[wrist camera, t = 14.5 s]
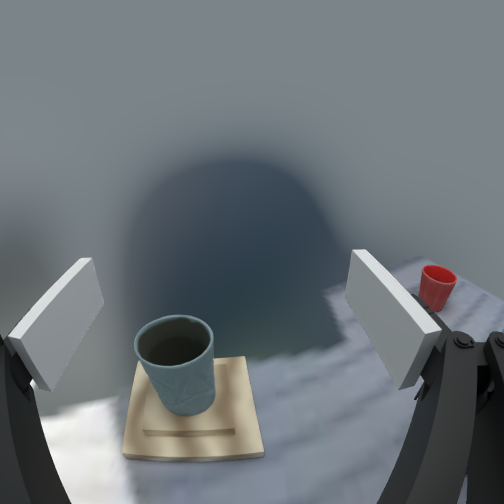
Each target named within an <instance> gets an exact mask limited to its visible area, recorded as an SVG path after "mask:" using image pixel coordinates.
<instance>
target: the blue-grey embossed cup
mask: <svg viewBox="0 0 504 504" xmlns="http://www.w3.org/2000/svg"><path fill="white" fill-rule="evenodd" d="M134 350H135V353H136V355H137V357H138V359H139V361H140V363H141V364H142V366H143V368H144V370H145V372H146V374H148V376H149V379H150V382H151V383H152V385H153V387H154V388H155V390H156V392H158V396H159V398H160V400H161V401H162V403H163V405H164V406H165V407H166V408H167V409H168V410H169V411H171V412H172V413H174V414H177V415H181V416H193V415H197V414H200V413H202V412H205V411H206V410H207V409H208V408H209V407H210V406H211V405H212V404H213V401H214V399H215V394H216V391H215V377H214V360H213V359H214V356H213V333H212V330H211V328H210V327H209V326H208V325H207V324H206V323H205V322H203V321H202V320H200V319H198V318H195V317H192V316H186V315H172V316H166V317H162V318H160V319H157V320H154V321H152V322H150V323H148V324H147V325H145V326H144V327H143V328H142V329H141V330H140V331H139V332H138V334H137V335H136V338H135V341H134Z"/></svg>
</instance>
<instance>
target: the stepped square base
mask: <svg viewBox="0 0 504 504" xmlns="http://www.w3.org/2000/svg"><path fill="white" fill-rule="evenodd" d="M213 360H214V377H215V391H216V394H215V399H214V401H213V404H212V405H211V406H210V407H209V408H208V409H207V410H206V411H205V412H202V413H200V414H197V415H193V416H181V415H177V414H174V413H172V412H171V411H169V410H168V409H167V408H166V407H165V406H164V405H163V403H162V401H161V400H160V398H159V396H158V392H156V390H155V388H154V387H153V385H152V383H151V382H150V379H149V376H148V374H146V372H145V370H144V368H143V366H142V364H141V363H140V361H138V365H137V369H136V373H135V378H134V383H133V388H132V393H131V398H130V403H129V408H128V414H127V420H126V426H125V432H124V439H123V446H122V454H123V455H124V456H125V457H126V458H128V459H137V460H149V461H166V462H210V461H228V460H239V459H249V458H257V457H264V449H263V445H262V440H261V435H260V430H259V426H258V421H257V416H256V411H255V406H254V401H253V396H252V391H251V386H250V381H249V376H248V371H247V366H246V360H245V356H242V357H231V358H217V359H213Z"/></svg>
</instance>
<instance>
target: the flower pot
mask: <svg viewBox="0 0 504 504" xmlns="http://www.w3.org/2000/svg"><path fill="white" fill-rule="evenodd" d="M456 281H457V278H456V276H455V274H454V273H453V272H451V271H450V270H448V269H446V268H444V267H441V266H437V265H426V266H424V267H423V269H422V276H421V283H420V291H419V298H421V299H422V300H423V301H424V302H425V303H426V304H427V305H428V306H429V308H431V309H432V310H433V311H434V312H438V311H440V310H441V309H442V308H443V306H444V304H445V303H446V301H447V299H448V297H449V295H450V293H451V292H452V290H453V288H454V286H455V284H456Z"/></svg>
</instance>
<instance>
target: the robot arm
mask: <svg viewBox="0 0 504 504" xmlns="http://www.w3.org/2000/svg"><path fill="white" fill-rule="evenodd" d="M345 299H346V301H347V302H348V304H349V305H350V307H351V309H352V310H353V312H354V314H355V315H356V317H357V319H358V320H359V322H360V323H361V325H362V327H363V329H364V330H365V332H366V334H367V335H368V337H369V339H370V340H371V342H372V344H373V346H374V347H375V349H376V351H377V352H378V354H379V356H380V358H381V360H382V361H383V363H384V365H385V367H386V368H387V370H388V372H389V374H390V376H391V377H392V379H393V381H394V383H395V385H396V387H397V389H398V390H401V389H404V388H408V387H411V386H414V385H415V383H416V382H417V380H418V378H419V376H420V375H421V376H422V378H423V379H424V383H423V385H422V386H421V388H420V390H419V391H418V393H417V395H416V396H415V398H414V400H417V398H418V401H417V404H416V408H415V411H414V415H413V418H412V421H411V424H410V427H409V430H408V433H407V436H406V439H405V441H404V444H403V447H402V449H401V452H400V454H399V457H398V459H397V462H396V464H395V467H394V469H393V471H392V473H391V476H390V478H389V480H388V482H387V484H386V486H385V488H384V490H383V492H382V494H381V496H380V498H379V500H378V502H377V504H457V501H458V498H459V495H460V491H461V488H462V484H463V480H464V477H465V474H468V485H467V501H466V504H504V329H503V331H502V332H497V331H496V332H492V333H490V335H489V337H488V339H487V341H486V342H475V341H474V340H473V338H472V337H470V336H469V335H468V334H466V333H463V332H459V331H454V332H452V331H451V330H450V329H449V328H448V327H447V326H446V325H445V323H444V322H443V321H442V320H441V319H440V318H439V317H438V316H437V315H436V314H434V311H433V310H432V309H431V308H429V306H428V305H427V304H426V303H425V302H424V301H423V300H422V299H421V298H419V297H417V296H416V295H414V294H409V293H408V292H407V291H406V290H405V289H404V287H403V286H402V285H401V284H400V283H399V282H398V281H397V280H396V279H395V278H394V277H393V276H392V275H391V274H390V273H389V272H388V271H387V270H386V269H385V268H384V267H383V266H382V265H381V264H380V263H379V262H378V261H377V260H376V259H375V258H374V257H373V256H372V255H371V254H370V253H369V252H368V251H366V250H352V255H351V262H350V269H349V274H348V280H347V286H346V292H345ZM103 305H104V300H103V297H102V293H101V290H100V286H99V283H98V279H97V275H96V271H95V267H94V263H93V259H92V258H80V259H79V260H78V261H77V262H76V263H75V264H74V265H73V266H72V267H71V268H70V269H69V270H68V271H67V272H66V273H65V274H64V275H63V276H62V277H61V278H60V279H59V280H58V281H57V282H56V283H55V284H54V285H53V286H52V287H51V288H50V289H49V290H48V291H47V292H46V293H45V294H44V295H43V296H42V297H41V299H40V300H39V301H38V302H37V303H36V304H35V305H34V306H33V307H32V308H31V309H30V310H29V311H28V312H27V313H26V314H25V315H24V317H23V318H22V319H21V320H20V321H19V323H17V324H16V326H15V327H14V328H13V329H12V330H11V332H10V333H9V334H8V335H7V336H6V338H5V339H4V340H3V339H2V337H1V335H0V504H71V502H70V500H69V498H68V496H67V494H66V491H65V489H64V487H63V485H62V482H61V480H60V478H59V475H58V473H57V470H56V468H55V465H54V463H53V460H52V457H51V454H50V451H49V448H48V445H47V442H46V439H45V436H44V432H43V429H42V425H41V422H40V418H39V414H38V410H37V405H36V401H35V396H34V391H33V388H32V386H31V385H30V382H31V380H32V379H33V380H34V381H35V383H36V384H37V386H38V387H39V389H43V390H46V391H49V392H53V390H54V388H55V386H56V384H57V382H58V380H59V378H60V377H61V375H62V373H63V371H64V369H65V367H66V365H67V364H68V362H69V360H70V358H71V357H72V355H73V353H74V352H75V350H76V348H77V346H78V345H79V343H80V341H81V340H82V338H83V336H84V335H85V333H86V332H87V330H88V328H89V327H90V325H91V323H92V322H93V320H94V318H95V317H96V315H97V314H98V312H99V311H100V309H101V308H102V306H103Z"/></svg>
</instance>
